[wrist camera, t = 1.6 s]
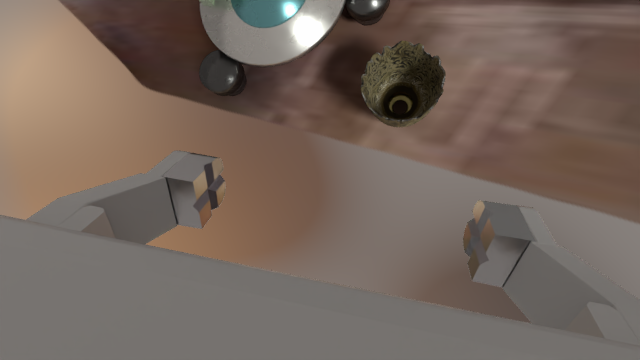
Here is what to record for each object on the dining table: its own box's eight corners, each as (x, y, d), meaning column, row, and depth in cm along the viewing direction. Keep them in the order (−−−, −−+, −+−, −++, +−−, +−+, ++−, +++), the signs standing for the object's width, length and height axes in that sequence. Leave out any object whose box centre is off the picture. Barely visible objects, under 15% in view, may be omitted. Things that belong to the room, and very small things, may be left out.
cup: (354, 110, 38) (343, 84, 30) (398, 63, 37) (399, 24, 29) (401, 152, 36) (403, 137, 28) (448, 104, 36) (463, 75, 28)
